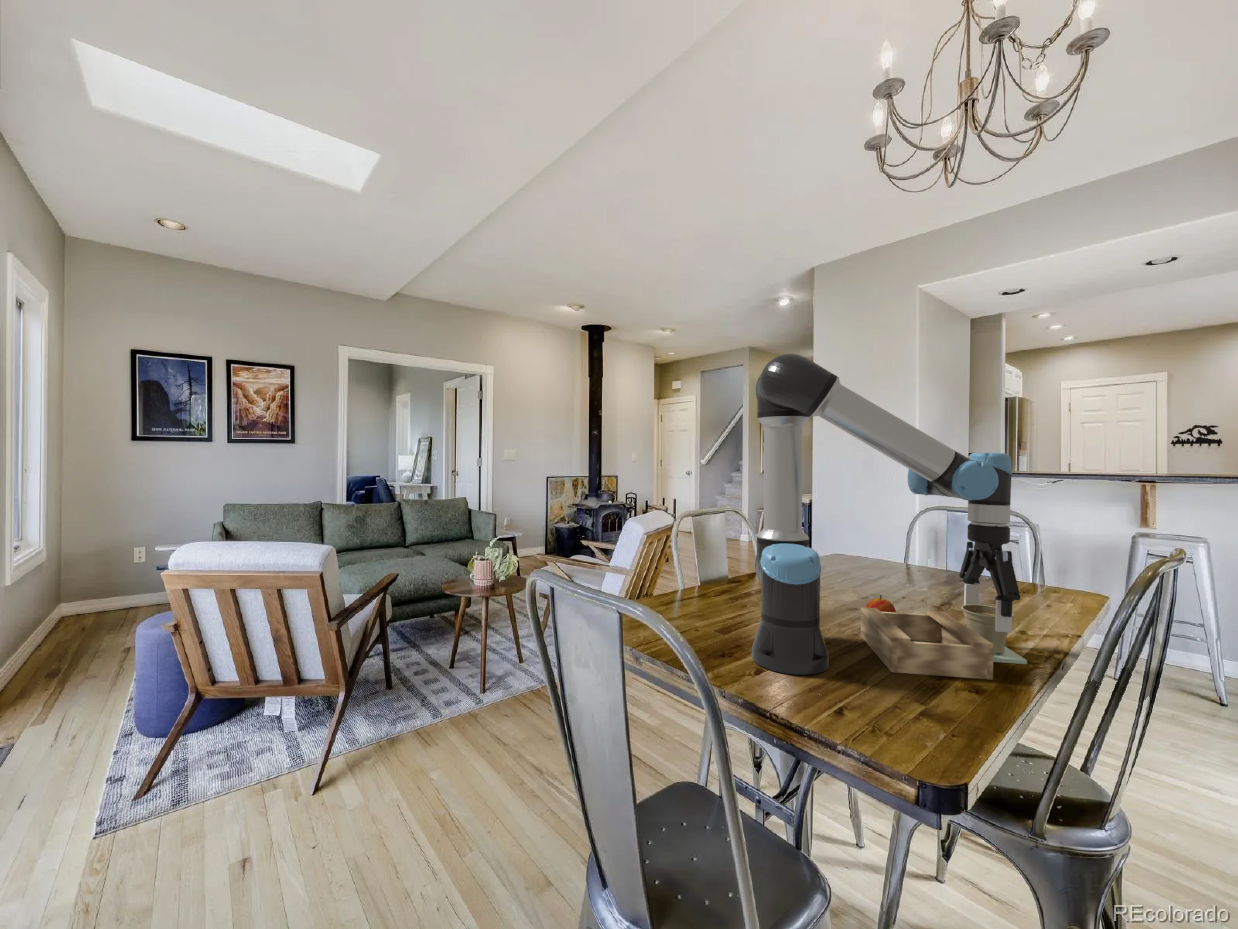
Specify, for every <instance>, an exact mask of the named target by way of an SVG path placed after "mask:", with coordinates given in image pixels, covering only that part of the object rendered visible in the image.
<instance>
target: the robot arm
mask: <svg viewBox="0 0 1238 929" xmlns="http://www.w3.org/2000/svg"><path fill="white" fill-rule="evenodd" d="M755 397H756V403H757V407H756V412H757V414H756V415H757V416H756V417H757V418H756V419H757V421H758V422H759V423H760V425H762V426H763V528H762V530H760V532H758V533H757V534H756V554H755V559H754V570H755V573H756V576H757V578H758V580H759V583H760V593H761V594H760V622H759V625H758V629H757V631H756V634H755V637H754V640H753V643H752V647H751V659H752V660H753V661H754V663H756V664H757V665H759V667H760V666H761V667H763V668H764V667H765V669H767V670H771V671H772V672H777V673H780V674H782V673H783V674H787V675H796V676H797V675H799V676H809V675H816V674H820V673H823V672H825V671H827V670H828V669H829V667H830V665H829V664H830V661H829V660H830V655H829V651H828V648H827V645H826V643H825V639H824V636H823V632H822V630H821V626H820V622H821V616H820V615H821V573H822V564H821V558H820V554H819V553H818V552H817V551H816V550H814V549H813V548H811V547H810V544H809V543H810V542H809V541H810V537H809V536H808V534H807V533H806V532H805V531H804V530H803V426H804V425H805V424H806V423H807V422H808V421H809V420H810V418H813V417H820V418H822V419H823V420H825V421H826V422H829V423H830V424H832V425H834V427H837V428H838V429H840V430H842V431H843V432H845V433H847V434H848V435H850V436H852V437H854V438H856V439H857V440H859V441H861V442H862V443H864V444H865V445H867V446H869V447H871V448H872V449H874V450H876V451H878V452H880V453H881V454H883V455H885V456H886V457H887V458H889V459H891V460H893V461H895V462H897V463H898V464H900V465H902V466H903V467H905V468H907V469H908V471H907V484H908V488H909V490H910V491H911V493H913V494H914V495H924V496H941V497H947V498H948V497H949V498H954V499H955V498H956V499H961V500H963V501H967V521H968V522H969V523H968V524H967V536H966V537H967V539H968V541H967V542H966V549H965V550H966V551H965V554H964V557H963V560H962V565H961V569H960V571H959V579H962V582H963V583H964V588H963V591H964V592H963V593H964V594H963V595H964V596H963V597H964V598H963V600H964V601H963V605H967V604H977V605H980V585H979V584H981V582H980V578H981V575H982V573H983V572H984V570H986V571H988V572H989V575H990V577H991V581H992V584H993V585H994V586H993V587H994V589H995V591H996V597H994V600H995V607H996V611H995V631H997V632H1008V633H1013V630H1012V629H1013V617H1012V613H1013V602H1015V601H1021V594H1020V588H1019V585H1018V582H1017V577H1016V573H1015V568H1014V564H1013V552H1012V551H1011V550H1003V545H1008V544H1009V543H1010V542H1011V528H1010V526H1008V524H1010V523H1011V514H1012V513H1013V510H1012V509H1011V497H1012V496H1011V495H1012V477H1013V471H1012V470H1013V469H1012V458H1011V456H1010V455H1009V454H1008V453H1005V452H973V453H970V454H969V456H968V457H967V456H966V455H964V454H962V453H961V452H959V451H956V450H954V449H953V448H951V447H950V446H947V445H946V444H944V443H943V442H941V441H939V440H937V439H936V438H935V437H932V436H930V435H929V434H927V433H925V432H924V431H923V430H920V429H919V428H917V427H915V426H914V425H911V424H910V423H908V422H906V421H905V420H903V419H902V418H900V417H898V416H896V415H895V414H893V413H891V412H890V411H888V410H886V409H884V408H882V407H881V406H879V405H877V404H875V403H874V402H873V401H870V400H869V399H867V398H865V397H863V396H861V395H860V394H858V393H856V392H855V391H853V390H851V389H850V388H847V387H846V386H844V385H843V384H841V381H840V377H839V376H838V375H836V374H835V373H832V372H831V371H829V370H827V369H826V368H824V367H822V366H821V365H819V364H818V363H816V362H814V361H813V360H811V359H809V358H807V357H805V356H802V355H800V354H798V353H797V354H796V353H782V354H779V355H777V356H776V357H773V358H772V359H771V360H769V361H768V363H766V364H765V366H764V367H763V369H762V370H761V373H760V375H759V377H758V379H757V381H756V385H755Z"/></svg>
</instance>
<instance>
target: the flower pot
mask: <svg viewBox="0 0 1238 929" xmlns="http://www.w3.org/2000/svg"><path fill="white" fill-rule="evenodd" d="M960 609H961V610H962V611H963V616H964V618H965V624H966V625H965V626H966V627H968V628H969V629H971V630H972V631H974V632H975V633H977V634H979V635H980V636H982V637H983V638H985V639H986V640H988V641H989V642H991V643H992V644H993V654H997V653H1000V654H1002V653H1004V649H1005V647H1006V643H1007V638H1008V637H1007V636H1008V633H1009V632H997V631H995V611H996V606H994V605H993V606H992V605H985V604H979V605H977V604H967V605H964V604H963V605H961V607H960ZM1014 617H1015V613H1014V612H1012V618H1014Z"/></svg>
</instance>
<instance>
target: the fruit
mask: <svg viewBox="0 0 1238 929" xmlns="http://www.w3.org/2000/svg"><path fill="white" fill-rule="evenodd" d="M865 608H877V609H878V610H879V611H880V612H895V613H897V611H896V610H897V609H896V607H895V605H894V604H893V603H892V602H891V601H890V600H888V599H886V598H882V595H881V594H880V595H879V597H876V598H872V599H871V600H869V601H867V603H866V605H865Z"/></svg>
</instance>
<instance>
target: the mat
mask: <svg viewBox="0 0 1238 929" xmlns="http://www.w3.org/2000/svg"><path fill="white" fill-rule="evenodd" d="M993 663H1005V664H1018V665H1019V664H1020V665H1027V664H1028V660H1027V659H1025V657H1022V656H1021V655H1019V654H1018V653H1016V652H1015V651H1013V650H1012V649H1010V648H1008V647H1007V646H1005V649H1004V653H1002V654H1000V653H997V654H993Z"/></svg>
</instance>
